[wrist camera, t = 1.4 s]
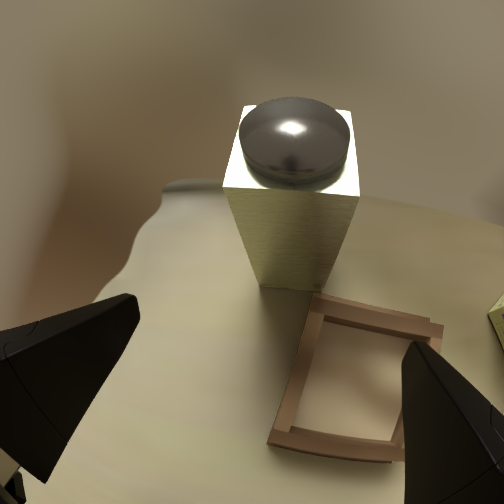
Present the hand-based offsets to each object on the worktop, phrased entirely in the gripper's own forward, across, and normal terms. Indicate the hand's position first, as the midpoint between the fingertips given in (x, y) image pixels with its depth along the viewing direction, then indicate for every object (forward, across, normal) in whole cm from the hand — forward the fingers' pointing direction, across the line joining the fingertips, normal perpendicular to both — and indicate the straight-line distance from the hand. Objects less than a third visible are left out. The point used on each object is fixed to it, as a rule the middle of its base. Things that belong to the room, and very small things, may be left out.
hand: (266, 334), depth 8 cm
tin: (+14, 0, +4) cm, 15 cm away
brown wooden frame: (+8, -6, +10) cm, 14 cm away
